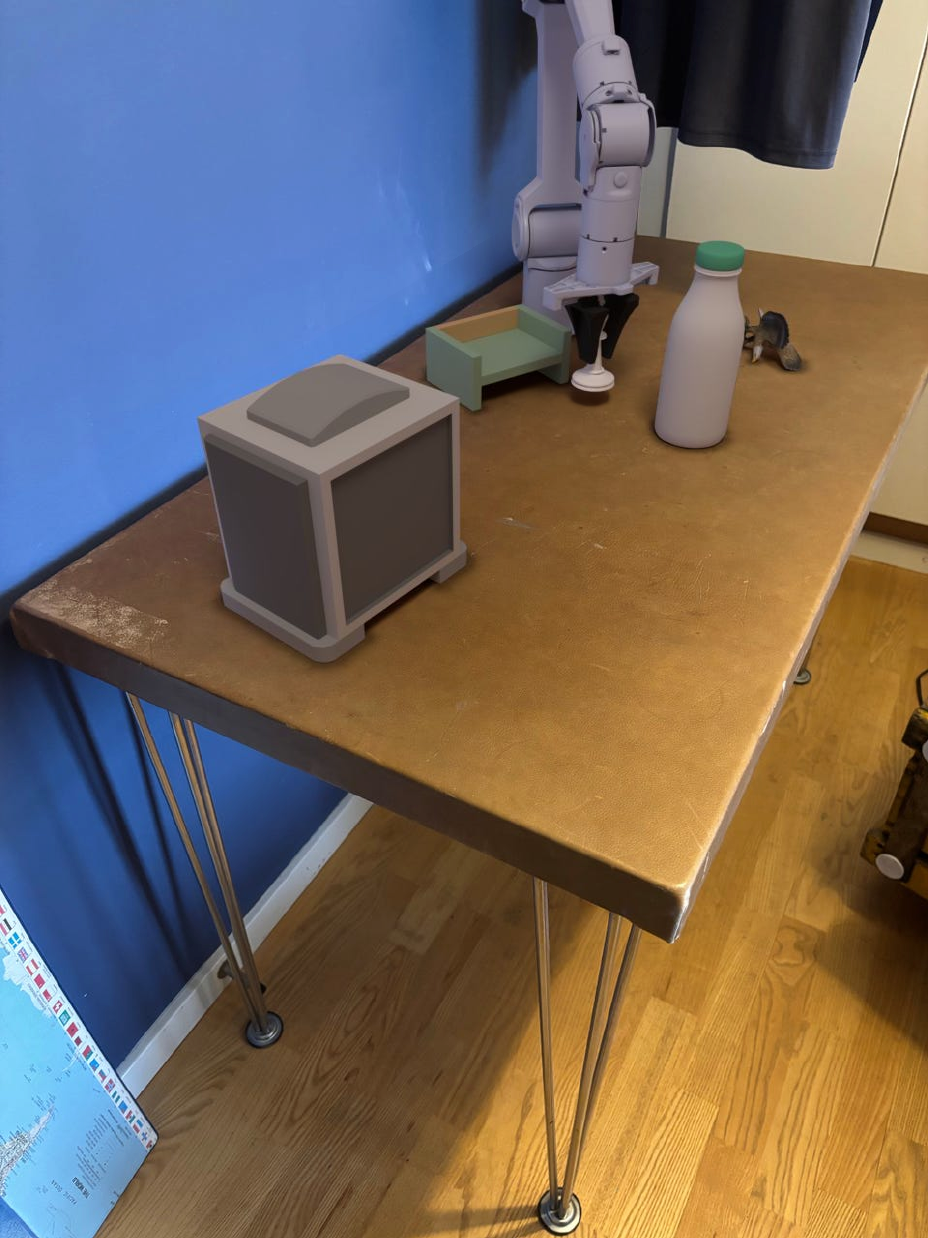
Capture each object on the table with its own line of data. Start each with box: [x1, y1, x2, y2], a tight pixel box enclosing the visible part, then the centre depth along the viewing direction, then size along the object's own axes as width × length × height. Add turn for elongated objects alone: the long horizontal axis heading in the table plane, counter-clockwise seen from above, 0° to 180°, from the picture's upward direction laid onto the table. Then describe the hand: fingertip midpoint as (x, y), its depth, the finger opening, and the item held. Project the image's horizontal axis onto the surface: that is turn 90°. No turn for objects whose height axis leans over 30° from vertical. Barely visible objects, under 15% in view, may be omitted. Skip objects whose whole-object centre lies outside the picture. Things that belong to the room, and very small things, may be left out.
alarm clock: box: [196, 353, 468, 664], centre depth 74 cm, size 18×13×18 cm
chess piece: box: [570, 296, 615, 393], centre depth 102 cm, size 5×5×10 cm
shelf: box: [425, 303, 573, 412], centre depth 109 cm, size 14×10×6 cm
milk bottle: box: [654, 240, 746, 449], centre depth 94 cm, size 8×8×20 cm
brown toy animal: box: [742, 307, 803, 372], centre depth 114 cm, size 8×7×9 cm
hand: (595, 358), depth 103 cm, fingers closed on chess piece
